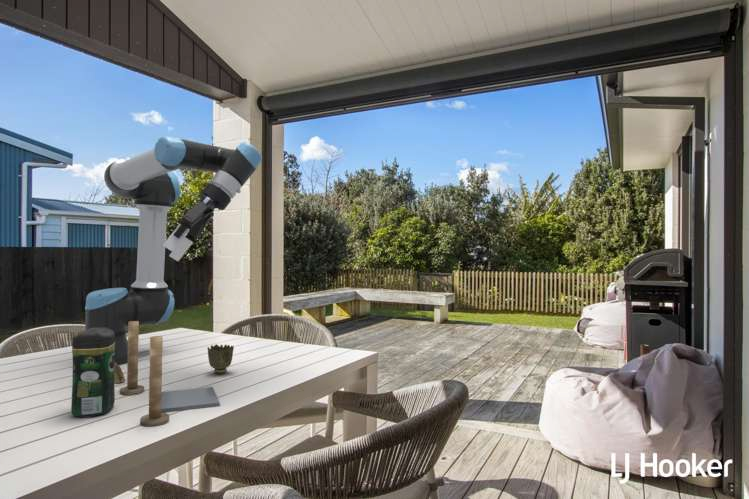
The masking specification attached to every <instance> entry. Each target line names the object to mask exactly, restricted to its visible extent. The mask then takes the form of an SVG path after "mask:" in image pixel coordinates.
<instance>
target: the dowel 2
mask: <svg viewBox="0 0 749 499" xmlns="http://www.w3.org/2000/svg"><path fill="white" fill-rule="evenodd" d="M163 339H164V338H163V336H162V335H154V336H150V338H149V375H148V376H149V380H148V381H149V384H148V413H147V414H144V415H143V416H141V417H140V420H139V424H140V426H142V427H148V428H149V427H151V428H152V427H157V426H162V425H165V424H167V423H169V421H170V414H169V413H168V412H163V413H161V396H162V392H163V391H162V390H163V389H162V388H163V387H162V385H163V383H162V382H163Z"/></svg>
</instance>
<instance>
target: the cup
mask: <svg viewBox="0 0 749 499" xmlns="http://www.w3.org/2000/svg"><path fill="white" fill-rule="evenodd" d="M234 347H235V345H230V344H224V345H223V344H221V345H218V344H215V345H212V344H211V345H210V347H209V346H208V347H207V357H208V364H209V365H210V367H211V368H213V373H214V374H216V375H224V374H226V373H227V368H228V367H230V366H231V363H232V362H233V356H234Z"/></svg>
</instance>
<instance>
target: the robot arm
mask: <svg viewBox="0 0 749 499" xmlns="http://www.w3.org/2000/svg"><path fill="white" fill-rule="evenodd" d="M262 160H263V156H262V153H261V152H260V151H259V149H257V147H255V146H254V145H252V144H251V143H248V142H246V141H243V142H241V143H240V144H239V145H237V146H236V148H235V149H232V148H231V149H230V148H226V147H221V146H217V145H212V144H206V143H202V142H198V141H193V140H189V139H183V138H179V137H176V136H167V135H163V136H160V137H159V138H158V140H157V141H156V142H155V144H154V148H152V149H150V150H148V151H145V152H143V153H140V154H138V155H136V156H133V157H132V158H128V159H126V158H124V159H118V160H116V161H114V162H111V163H110V164H109V165H108V166H107V167H106V168H105V171H104V174H103V176H104V177H103V178H104V182H105V185H106V187H107V189H109V191H111V193H113V194H115V195H116V196H118V197H120V198H123V199H127V200H128V199H129V200H134V206H135V207H136V208H137V209H138V212H139V213H138V214H139V216H138V232H137V234H138V235H137V238H138V239H137V254H136V256H137V258H136V277H135V278H136V279H135V281H134V282H133V283H131V284H130V291H129V290H128V289H127V288H125V287H113V288H111V287H110V288H103V289H99V290H94V291H91V292H89V293H88V294H87V295H86V298H85V307H84V310H85V312H84V313H85V316H84V317H85V321H84V322H85V324H84V331H86V330H88V329H89V328H101V327H107V328H109V329H111V330H112V331H114V333H115V357H114V361H115V362H116V363H117V364H118V365H122V364H125V363H128V336H127V328H128V322H130V321H139V326H145V325H146V326H147V325H156V324H159V323H160V324H162V323H165V322H166V321H168V320H169V318H170V317H171V316H172V315H173V312H174V308H175V297H174V293H173V292H172V291H171V290H170V289H169V285H168V284H167V283H166V282H165V280H164V277H165V260H166V259H165V258H166V257H165V256H166V249H168V250H169V251H170V252H171V253H170V254H169V257H170V258H172V259H173V260H175V261H176V262H179V261H180V260H181V259H182V257H183V256H184V255H185V254H186V253H187V251H188V250H189V249H190V247H191V246H192V245H193V244H195V245H196V244H197V243H198V239H199V237H200V235H201V234H202V233H203V231H204V229H205V228H206V227H207V225H208V224H209V222H210V220H211V219H212V218H213V217H214V215H215V213H214V211H215V209H217V210H219V211H224V210H226V208H227V207H228V205H229V204H230V203H231V202H232V199H234V197H236V195H237V194H241V188H242V187H243V186H244V185H245V184H246V182H248V180H249V179H250V177H251V176H252V175H254V172H255V171H257V169H258V167H259V166H260V164H261V162H262ZM179 169H190V170H197V171H202V172H203V171H204V172H208V173H213V174H214V173H215V174H214V175H213V176H212V178H211V179H210V180H209V183H207V184H206V186H204V188H203V189H202V190H201V191H200V196H201V199H200V200H198V202H196V204H194V205H193V207H192V208H190V209H189V210H188V211H187V212H186V213H184V215H183V216H181V218H179V219H178V220H177V223H178V225H177V227H176V228H175V229H174V230H173V232H172V233H171V234H170V235H169V237H168V238H167V237H166V236H167V220H168V218H167V217H168V212H169V211H170V210H172V208H173V204H175V203H176V202H178V200H179V197H180V195H181V185H180V181H179V179H178V178H179V177H178V176H177V174H176V173H175V172H174V171H176V170H177V171H178V170H179ZM166 238H167V239H166Z"/></svg>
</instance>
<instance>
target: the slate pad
mask: <svg viewBox="0 0 749 499" xmlns="http://www.w3.org/2000/svg"><path fill="white" fill-rule="evenodd" d="M220 406H221V403H220V400H219V398H218V396H217V394H216V391H215V389H214V387H213V386H207V387H206V386H205V387H197V388H196V387H195V388H188V389H187V388H186V389H178V390H177V389H176V390H167V391H166V390H165V391H162V396H161V413H168V412H169V413H170V412H177V411H187V410H195V409H203V408H204V409H205V408H211V407H220Z"/></svg>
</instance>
